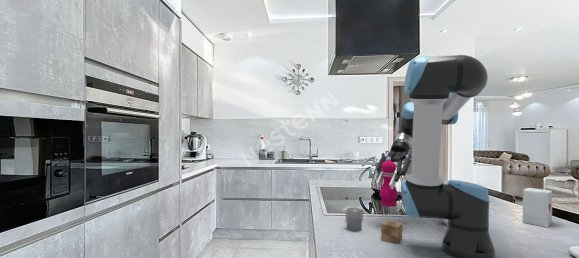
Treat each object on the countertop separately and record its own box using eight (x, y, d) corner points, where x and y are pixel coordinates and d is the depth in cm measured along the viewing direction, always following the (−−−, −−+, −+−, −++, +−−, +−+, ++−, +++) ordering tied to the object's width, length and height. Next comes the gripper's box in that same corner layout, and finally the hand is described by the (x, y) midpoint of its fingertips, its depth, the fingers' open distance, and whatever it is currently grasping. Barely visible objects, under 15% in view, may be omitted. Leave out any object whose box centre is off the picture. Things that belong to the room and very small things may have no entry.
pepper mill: (377, 205, 120) (378, 157, 121) (381, 202, 127) (381, 156, 127) (396, 207, 117) (396, 158, 118) (398, 204, 123) (399, 157, 124)
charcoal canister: (364, 229, 119) (364, 209, 119) (356, 232, 115) (356, 212, 115) (351, 225, 123) (351, 206, 123) (343, 229, 119) (343, 209, 119)
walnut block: (402, 239, 109) (402, 223, 109) (398, 244, 104) (398, 227, 104) (385, 235, 112) (385, 220, 112) (381, 240, 107) (381, 224, 107)
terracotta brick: (362, 220, 132) (363, 209, 132) (353, 223, 126) (353, 212, 126) (355, 218, 135) (355, 207, 135) (345, 221, 129) (345, 210, 129)
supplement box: (548, 228, 124) (548, 192, 124) (522, 222, 131) (522, 189, 131) (552, 223, 130) (552, 190, 130) (527, 219, 137) (527, 187, 137)
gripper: (424, 152, 127) (409, 195, 115) (385, 150, 140) (367, 188, 128) (419, 140, 124) (403, 183, 111) (380, 139, 136) (361, 177, 124)
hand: (384, 185), depth 119 cm, fingers closed on pepper mill, 5 cm apart
